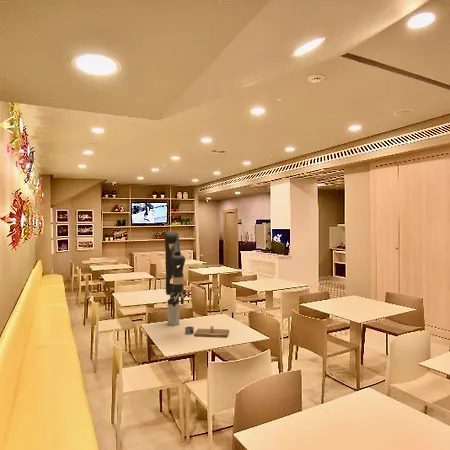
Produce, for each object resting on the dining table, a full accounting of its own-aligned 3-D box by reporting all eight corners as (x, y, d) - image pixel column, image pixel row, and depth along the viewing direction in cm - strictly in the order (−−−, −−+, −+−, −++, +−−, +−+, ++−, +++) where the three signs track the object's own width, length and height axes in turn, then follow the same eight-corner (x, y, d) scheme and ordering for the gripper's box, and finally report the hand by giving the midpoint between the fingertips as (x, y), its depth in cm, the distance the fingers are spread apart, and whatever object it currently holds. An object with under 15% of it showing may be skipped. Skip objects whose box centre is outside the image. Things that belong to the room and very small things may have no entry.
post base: (197, 330, 275) (197, 323, 275) (229, 331, 272) (229, 324, 272) (194, 336, 261) (194, 328, 261) (226, 337, 258) (226, 329, 258)
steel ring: (186, 331, 272) (186, 326, 272) (194, 332, 271) (194, 326, 271) (184, 334, 266) (184, 328, 266) (192, 334, 265) (192, 329, 265)
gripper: (180, 280, 269) (180, 302, 269) (167, 284, 257) (167, 306, 257) (188, 282, 264) (188, 303, 265) (175, 285, 253) (175, 308, 253)
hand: (178, 305), depth 261 cm, fingers open, 8 cm apart
